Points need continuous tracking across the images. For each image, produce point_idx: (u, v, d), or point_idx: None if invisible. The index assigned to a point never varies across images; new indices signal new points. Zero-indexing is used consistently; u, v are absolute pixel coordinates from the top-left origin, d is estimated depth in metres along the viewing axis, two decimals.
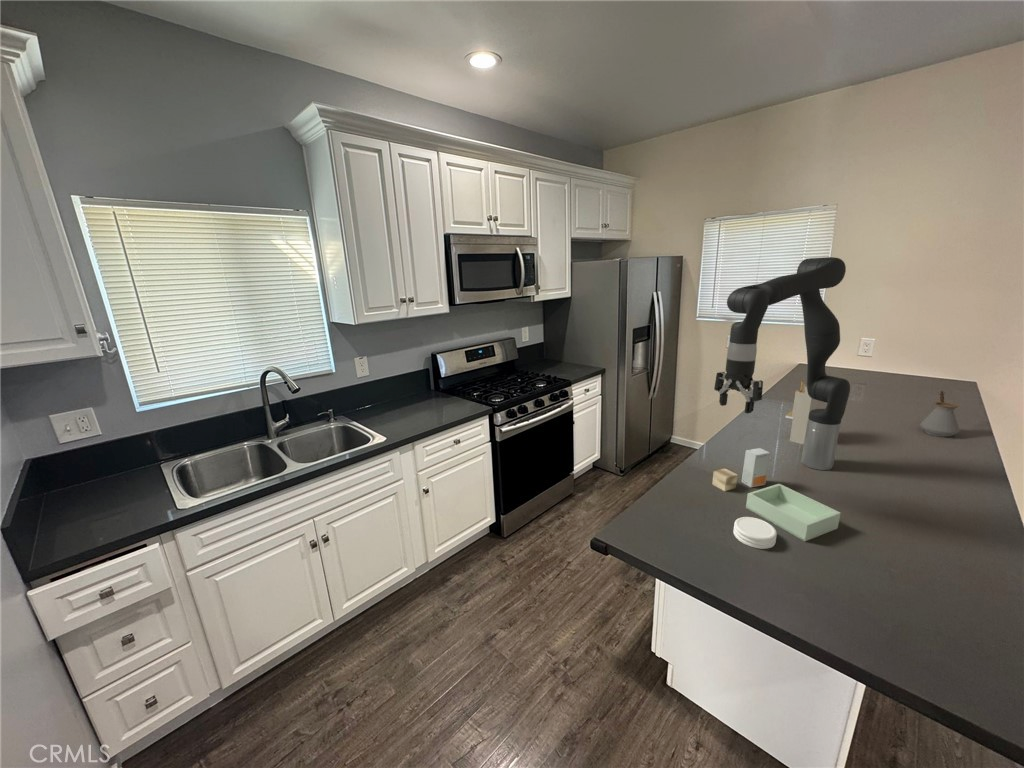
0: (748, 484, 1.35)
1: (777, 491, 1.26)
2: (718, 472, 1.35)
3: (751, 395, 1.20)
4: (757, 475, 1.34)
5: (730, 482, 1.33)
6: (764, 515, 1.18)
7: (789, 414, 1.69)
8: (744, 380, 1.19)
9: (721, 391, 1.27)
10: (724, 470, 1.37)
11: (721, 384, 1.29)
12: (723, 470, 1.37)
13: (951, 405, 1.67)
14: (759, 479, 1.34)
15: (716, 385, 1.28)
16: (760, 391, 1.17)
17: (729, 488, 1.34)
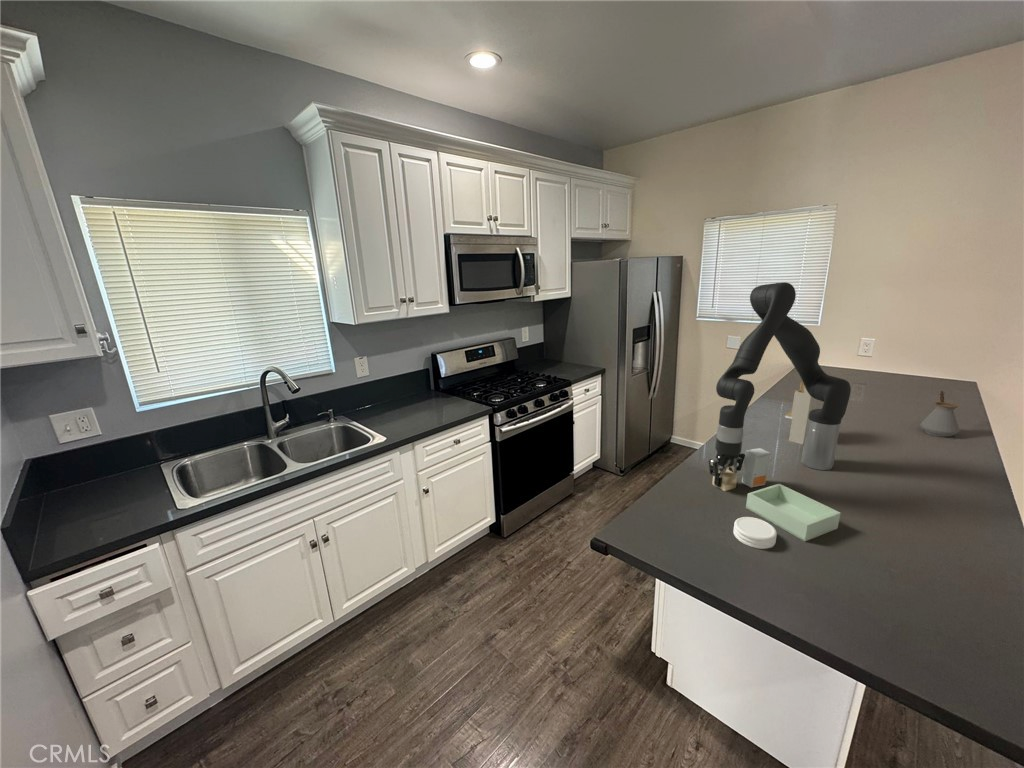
0: (748, 484, 1.35)
1: (777, 491, 1.26)
2: (718, 472, 1.35)
3: (730, 467, 1.36)
4: (757, 475, 1.34)
5: (730, 482, 1.33)
6: (764, 515, 1.18)
7: (788, 414, 1.69)
8: (736, 454, 1.33)
9: (721, 475, 1.33)
10: None
11: None
12: None
13: (951, 405, 1.67)
14: (759, 479, 1.34)
15: (716, 472, 1.31)
16: None
17: (729, 488, 1.34)
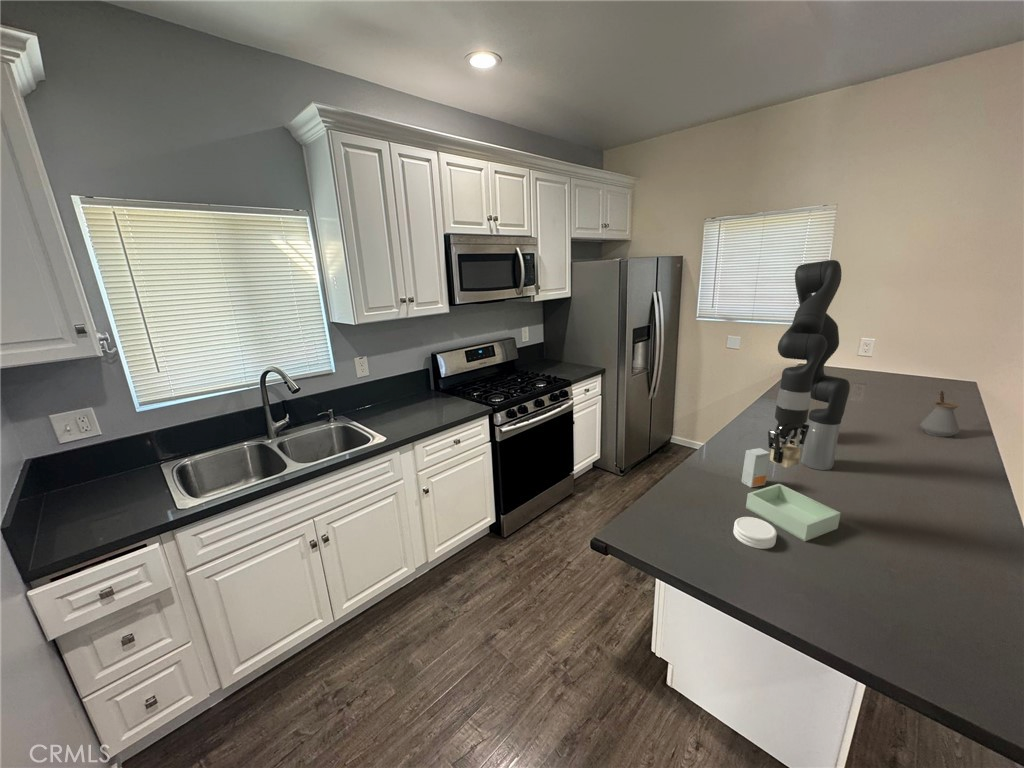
0: (748, 484, 1.35)
1: (777, 491, 1.26)
2: None
3: (791, 440, 1.17)
4: (757, 475, 1.34)
5: (792, 457, 1.14)
6: (764, 515, 1.18)
7: None
8: (800, 425, 1.14)
9: (783, 449, 1.14)
10: None
11: (772, 442, 1.14)
12: None
13: (951, 405, 1.67)
14: (760, 479, 1.34)
15: (778, 445, 1.13)
16: None
17: (791, 464, 1.15)
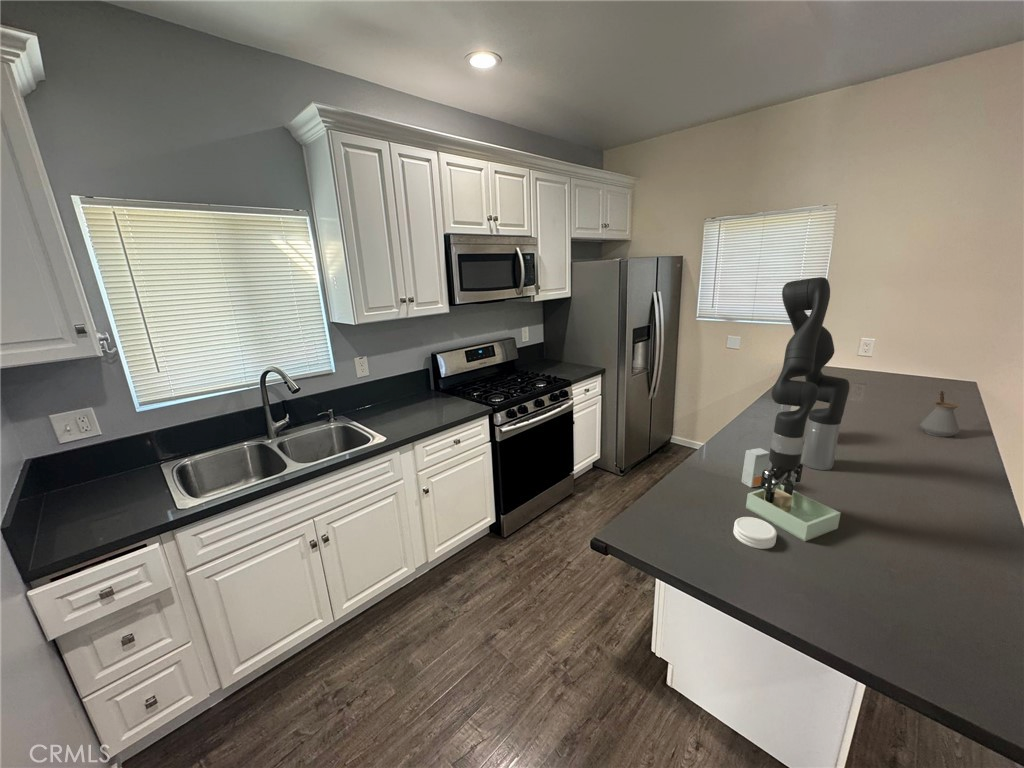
0: (748, 484, 1.35)
1: None
2: None
3: None
4: (757, 475, 1.34)
5: (785, 505, 1.18)
6: (764, 515, 1.18)
7: None
8: (793, 467, 1.18)
9: (774, 489, 1.17)
10: (777, 490, 1.22)
11: (764, 483, 1.17)
12: (775, 490, 1.22)
13: (951, 405, 1.67)
14: (759, 479, 1.34)
15: (770, 486, 1.16)
16: None
17: None
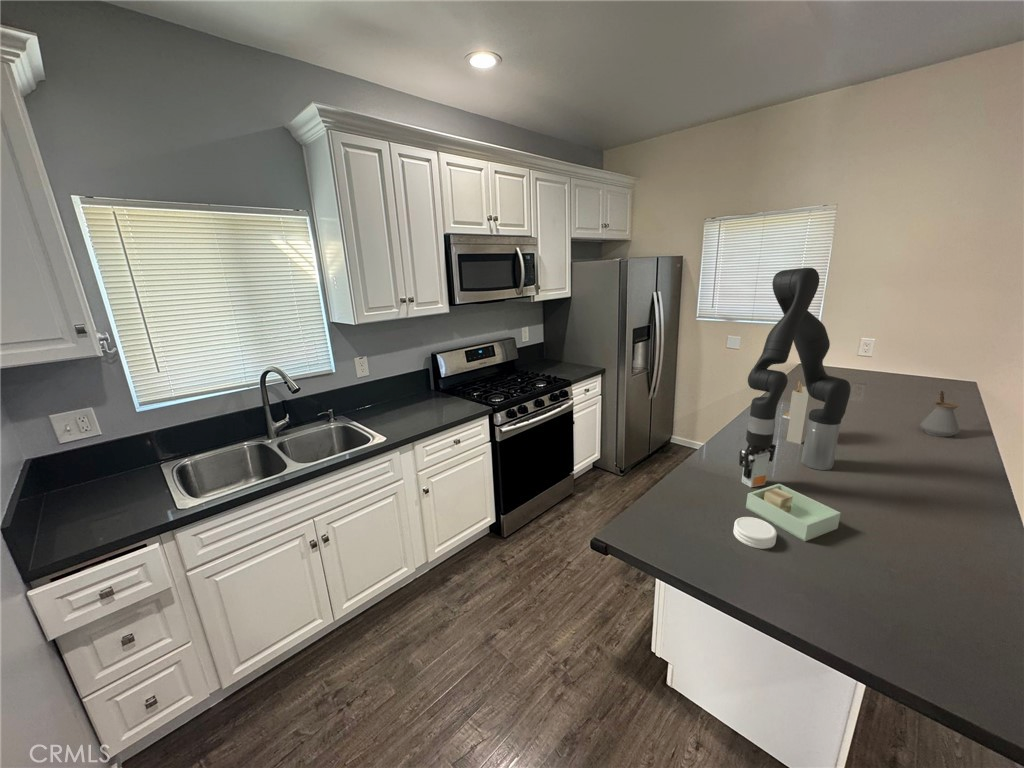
0: (748, 484, 1.35)
1: None
2: (770, 493, 1.21)
3: None
4: (757, 475, 1.34)
5: (785, 505, 1.18)
6: (764, 515, 1.18)
7: (786, 414, 1.69)
8: (767, 446, 1.33)
9: (751, 466, 1.33)
10: (777, 490, 1.22)
11: (742, 460, 1.33)
12: (775, 490, 1.22)
13: (951, 405, 1.67)
14: (759, 479, 1.34)
15: (747, 463, 1.31)
16: None
17: None
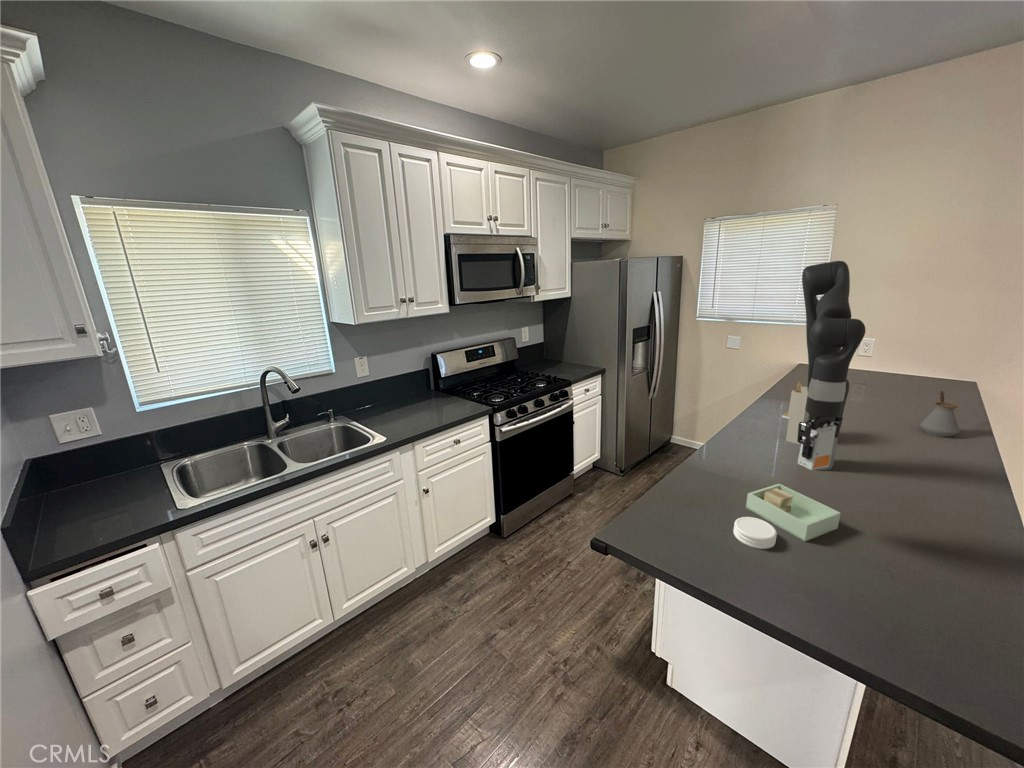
0: (807, 466, 1.08)
1: None
2: (770, 493, 1.21)
3: None
4: (820, 454, 1.06)
5: (785, 505, 1.18)
6: (764, 515, 1.18)
7: (786, 414, 1.69)
8: (832, 418, 1.06)
9: (813, 443, 1.05)
10: (777, 490, 1.22)
11: (801, 436, 1.06)
12: (775, 490, 1.22)
13: (951, 405, 1.67)
14: (822, 459, 1.07)
15: (808, 439, 1.04)
16: None
17: None
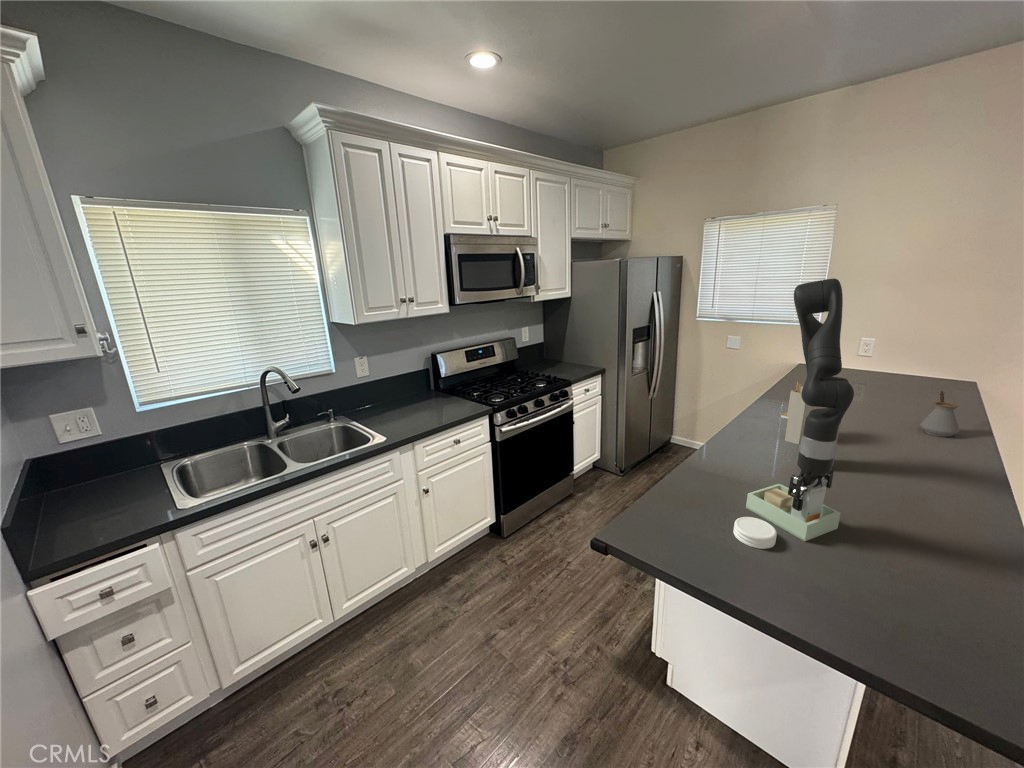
0: None
1: None
2: (770, 493, 1.21)
3: None
4: (811, 514, 1.11)
5: (785, 505, 1.18)
6: (764, 515, 1.18)
7: (785, 414, 1.69)
8: None
9: (803, 496, 1.09)
10: (777, 490, 1.22)
11: (792, 489, 1.10)
12: (775, 490, 1.22)
13: (951, 405, 1.67)
14: (813, 518, 1.12)
15: (799, 493, 1.08)
16: None
17: None
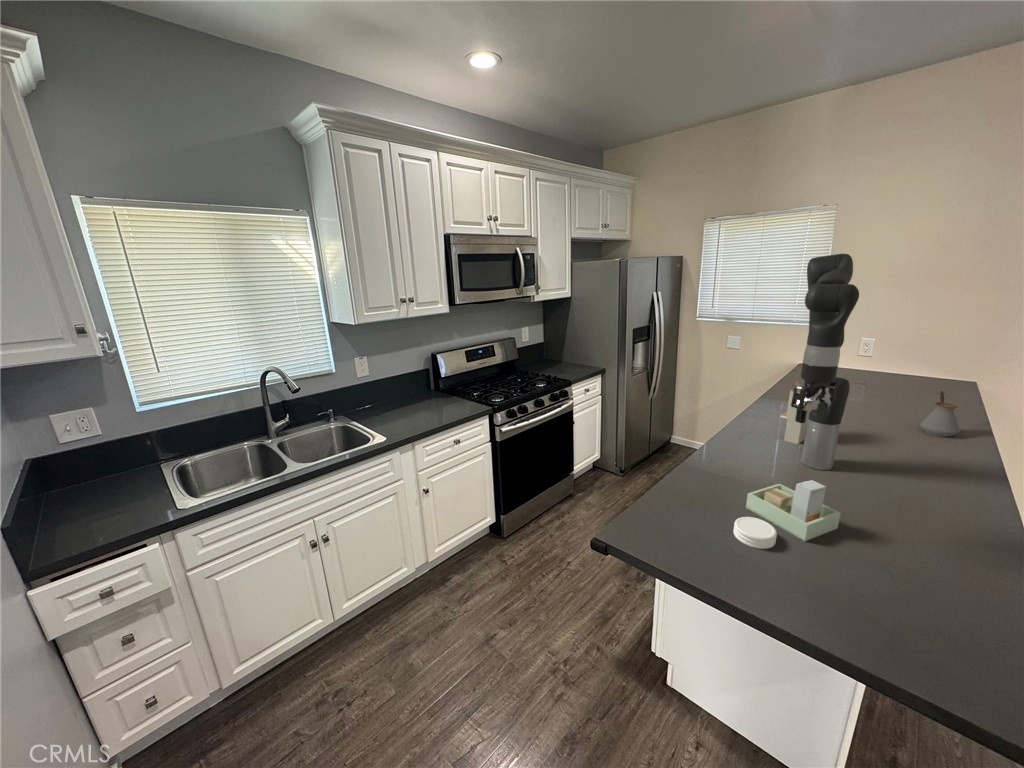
0: None
1: None
2: (770, 493, 1.21)
3: None
4: (811, 513, 1.11)
5: (785, 505, 1.18)
6: (764, 515, 1.18)
7: (784, 414, 1.70)
8: (827, 384, 1.08)
9: (806, 407, 1.07)
10: (777, 490, 1.22)
11: (795, 400, 1.08)
12: (775, 490, 1.22)
13: (951, 405, 1.67)
14: (813, 518, 1.12)
15: (802, 403, 1.06)
16: None
17: None
